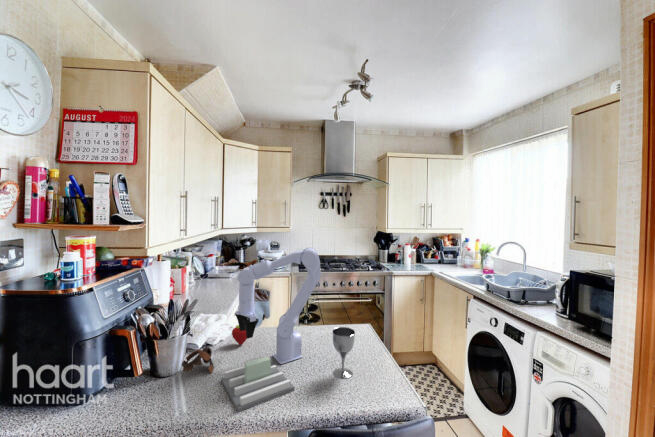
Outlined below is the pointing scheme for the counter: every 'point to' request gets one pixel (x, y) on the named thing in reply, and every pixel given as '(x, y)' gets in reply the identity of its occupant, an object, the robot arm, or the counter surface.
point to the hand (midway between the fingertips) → (246, 334)
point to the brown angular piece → (198, 360)
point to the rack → (254, 387)
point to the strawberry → (239, 335)
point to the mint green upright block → (257, 369)
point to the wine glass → (343, 349)
